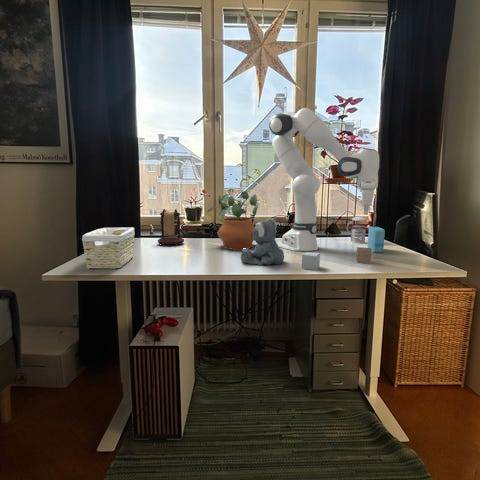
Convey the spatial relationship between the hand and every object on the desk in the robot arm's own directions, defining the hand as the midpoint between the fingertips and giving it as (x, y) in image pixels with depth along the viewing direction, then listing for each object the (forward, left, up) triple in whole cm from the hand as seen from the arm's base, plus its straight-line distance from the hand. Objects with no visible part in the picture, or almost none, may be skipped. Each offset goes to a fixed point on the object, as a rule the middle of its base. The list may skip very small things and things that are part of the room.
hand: (365, 214), depth 164 cm
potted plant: (-62, -29, -21) cm, 71 cm away
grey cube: (-6, -34, -21) cm, 40 cm away
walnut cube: (+4, -8, -21) cm, 23 cm away
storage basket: (-70, -93, -21) cm, 118 cm away
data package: (-4, +19, -21) cm, 28 cm away
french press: (-22, +32, -21) cm, 44 cm away
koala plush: (-26, -41, -21) cm, 53 cm away
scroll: (-91, -50, -21) cm, 105 cm away
